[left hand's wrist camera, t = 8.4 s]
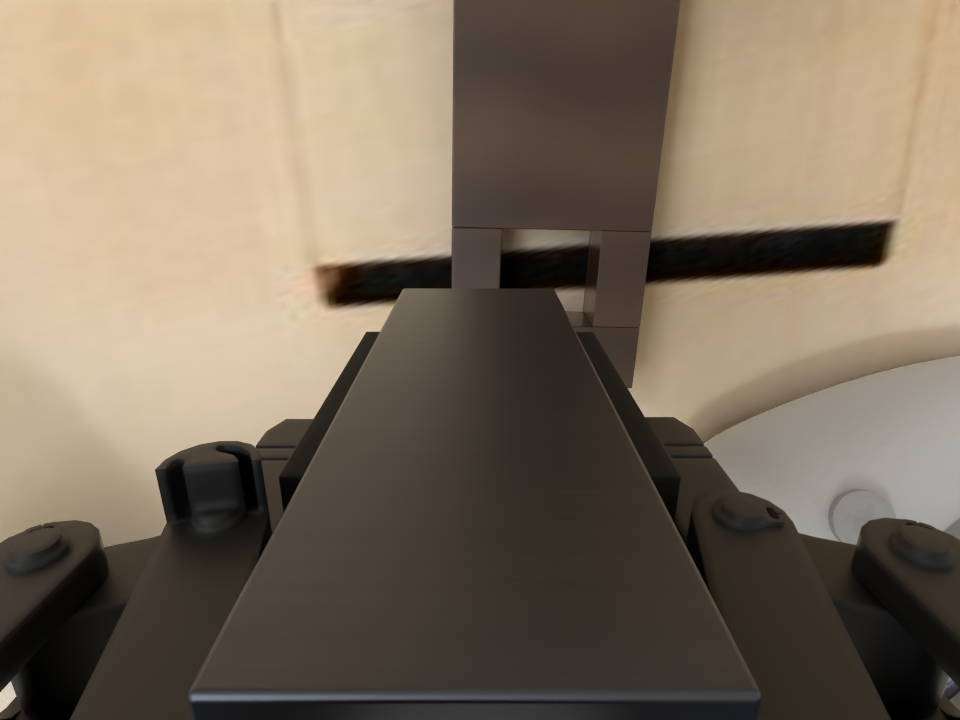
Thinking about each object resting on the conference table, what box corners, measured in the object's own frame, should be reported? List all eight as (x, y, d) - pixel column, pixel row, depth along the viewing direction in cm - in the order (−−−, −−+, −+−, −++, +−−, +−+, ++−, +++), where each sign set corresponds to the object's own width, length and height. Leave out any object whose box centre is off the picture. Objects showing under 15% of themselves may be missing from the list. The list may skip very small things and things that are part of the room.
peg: (548, 424, 17) (692, 1015, 5) (408, 424, 17) (258, 1015, 5) (554, 287, 15) (767, 696, 4) (402, 288, 15) (180, 696, 4)
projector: (906, 640, 42) (1117, 881, 28) (608, 576, 40) (679, 803, 26) (1091, 364, 35) (1498, 506, 21) (738, 267, 32) (933, 354, 19)
